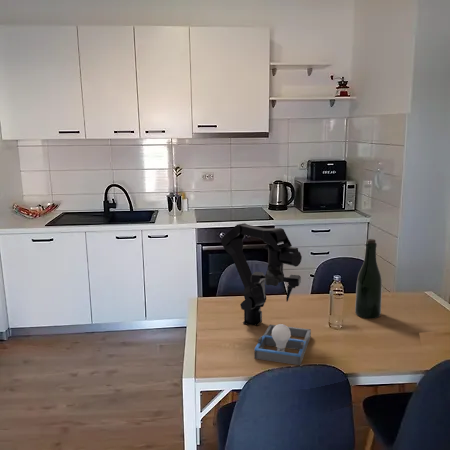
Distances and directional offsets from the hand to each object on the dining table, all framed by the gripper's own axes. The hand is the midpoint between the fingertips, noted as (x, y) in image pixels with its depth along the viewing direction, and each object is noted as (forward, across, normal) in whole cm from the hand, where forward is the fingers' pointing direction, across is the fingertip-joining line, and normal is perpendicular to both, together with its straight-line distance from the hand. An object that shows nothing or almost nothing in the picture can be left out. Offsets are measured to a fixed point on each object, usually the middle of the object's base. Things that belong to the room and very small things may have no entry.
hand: (275, 300), depth 177 cm
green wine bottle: (+13, +34, +28) cm, 46 cm away
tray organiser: (+13, +6, -12) cm, 19 cm away
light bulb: (+13, +6, -18) cm, 23 cm away
